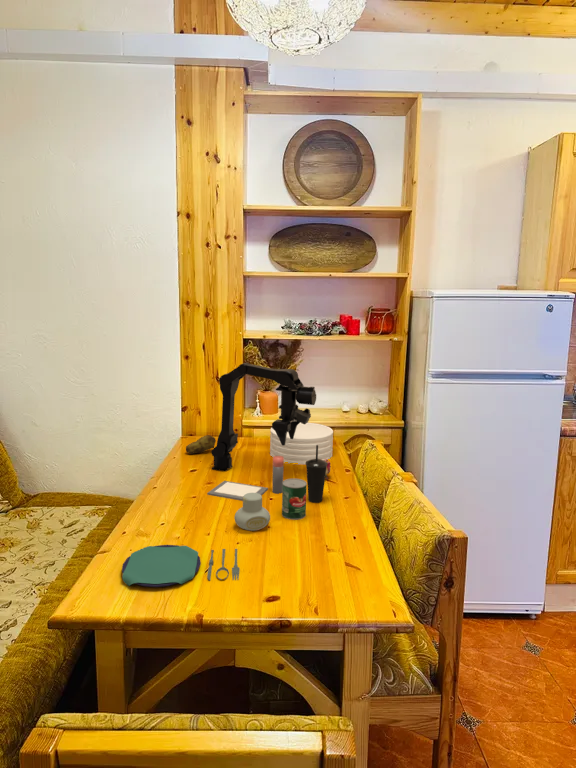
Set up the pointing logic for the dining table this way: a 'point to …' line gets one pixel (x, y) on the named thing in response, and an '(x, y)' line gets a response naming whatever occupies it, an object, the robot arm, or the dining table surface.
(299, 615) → the dining table surface
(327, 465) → the flower
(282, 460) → the marker
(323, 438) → the plate stack
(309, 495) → the drinking cup
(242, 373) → the robot arm
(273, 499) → the dining table surface
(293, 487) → the canned tomato
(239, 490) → the writing mat
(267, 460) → the dining table surface
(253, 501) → the air freshener
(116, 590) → the dining table surface
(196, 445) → the potato
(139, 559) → the cutlery set
